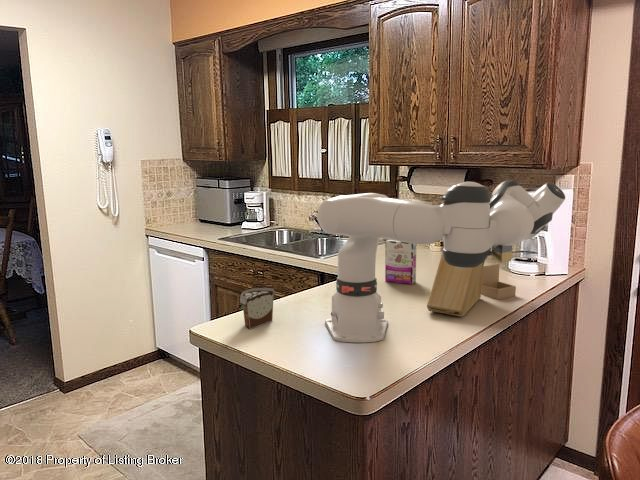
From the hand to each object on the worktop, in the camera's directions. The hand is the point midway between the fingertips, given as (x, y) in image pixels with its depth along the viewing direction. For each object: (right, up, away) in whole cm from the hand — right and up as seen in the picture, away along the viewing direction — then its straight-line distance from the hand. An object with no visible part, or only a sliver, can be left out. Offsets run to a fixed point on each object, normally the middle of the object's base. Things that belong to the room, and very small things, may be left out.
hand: (500, 245), depth 184 cm
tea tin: (0, -5, 0) cm, 5 cm away
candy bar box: (-32, -15, +22) cm, 41 cm away
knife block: (-16, -20, -6) cm, 26 cm away
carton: (0, -18, +3) cm, 18 cm away
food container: (-83, -24, -23) cm, 89 cm away
